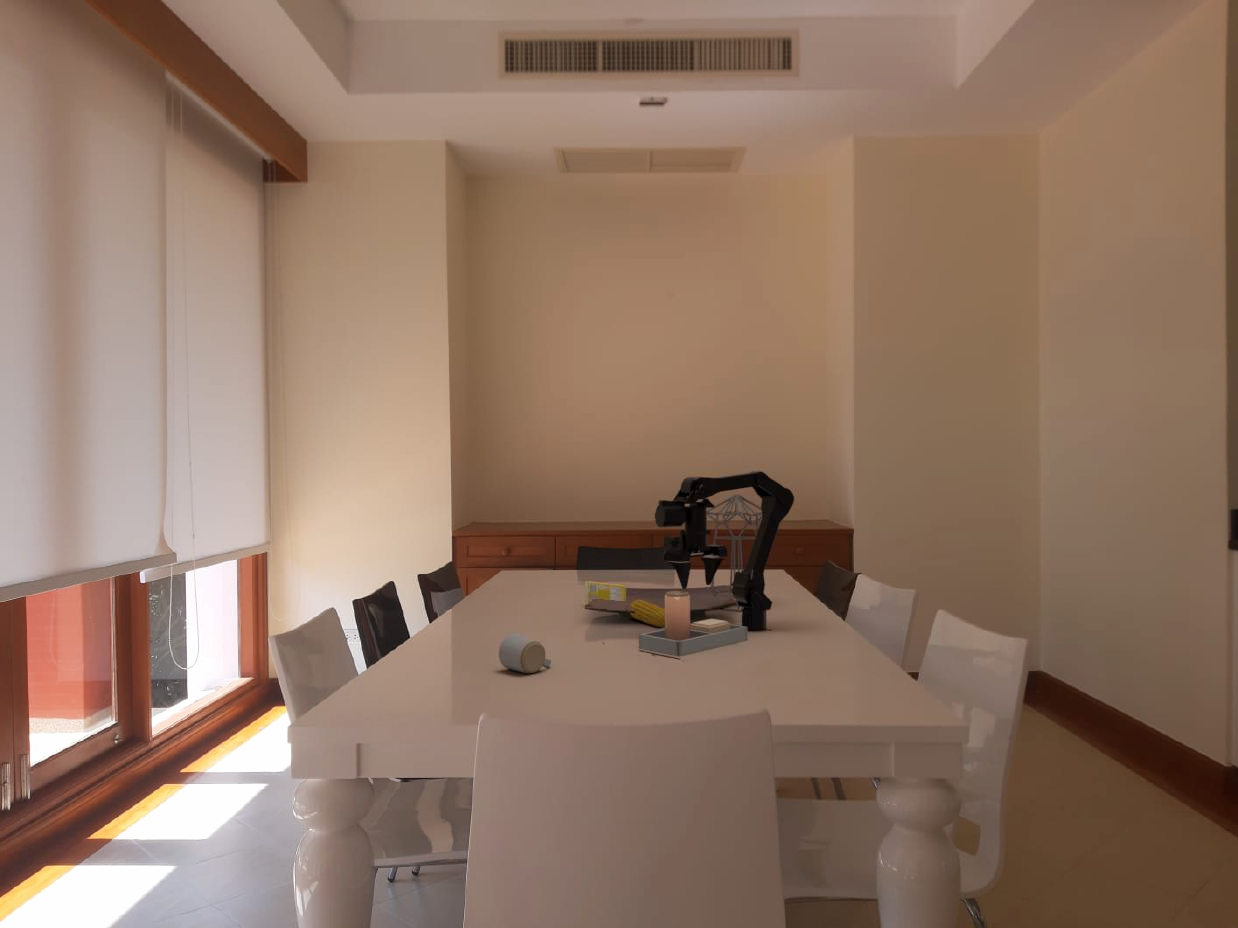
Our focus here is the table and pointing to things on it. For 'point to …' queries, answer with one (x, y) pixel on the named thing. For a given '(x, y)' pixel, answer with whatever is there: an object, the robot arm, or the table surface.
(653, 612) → the food
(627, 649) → the table surface
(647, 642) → the tray
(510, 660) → the ceramic mug
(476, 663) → the table surface
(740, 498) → the geometric lantern
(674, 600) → the pink beverage can
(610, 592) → the candy box
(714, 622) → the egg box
